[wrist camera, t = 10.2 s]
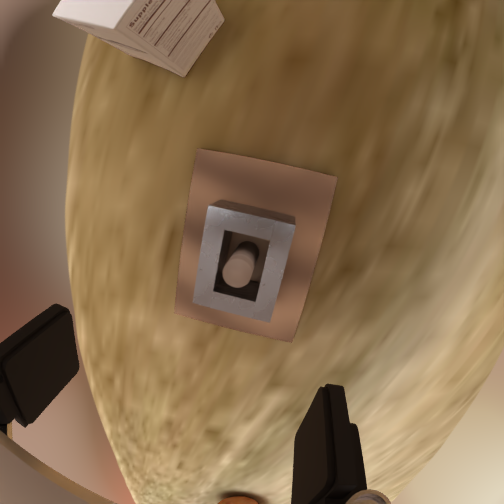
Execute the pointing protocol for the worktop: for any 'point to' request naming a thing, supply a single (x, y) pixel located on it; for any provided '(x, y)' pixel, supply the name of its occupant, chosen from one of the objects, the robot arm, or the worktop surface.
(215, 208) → the link
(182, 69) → the supplement box
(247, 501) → the onion
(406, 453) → the worktop surface
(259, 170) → the keeper
